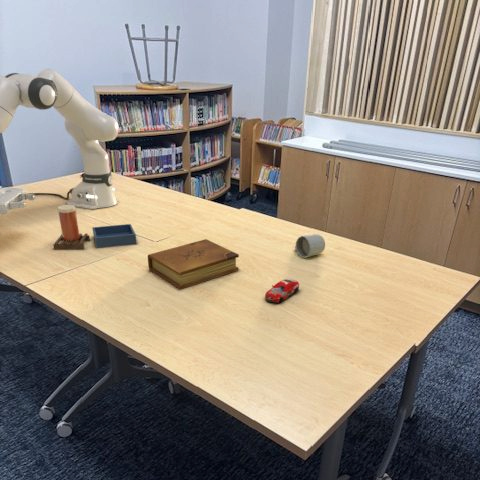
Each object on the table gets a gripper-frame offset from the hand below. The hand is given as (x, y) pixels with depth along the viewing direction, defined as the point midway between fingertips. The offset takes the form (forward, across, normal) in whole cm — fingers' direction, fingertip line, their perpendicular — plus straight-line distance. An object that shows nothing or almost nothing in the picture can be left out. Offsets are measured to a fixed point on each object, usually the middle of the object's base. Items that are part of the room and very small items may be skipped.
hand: (29, 201), depth 167 cm
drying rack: (+12, 0, +16) cm, 20 cm away
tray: (+27, +5, +16) cm, 32 cm away
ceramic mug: (+98, -9, +16) cm, 99 cm away
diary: (+58, -23, +16) cm, 64 cm away
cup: (+12, 0, +14) cm, 18 cm away
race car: (+85, -42, +16) cm, 96 cm away
